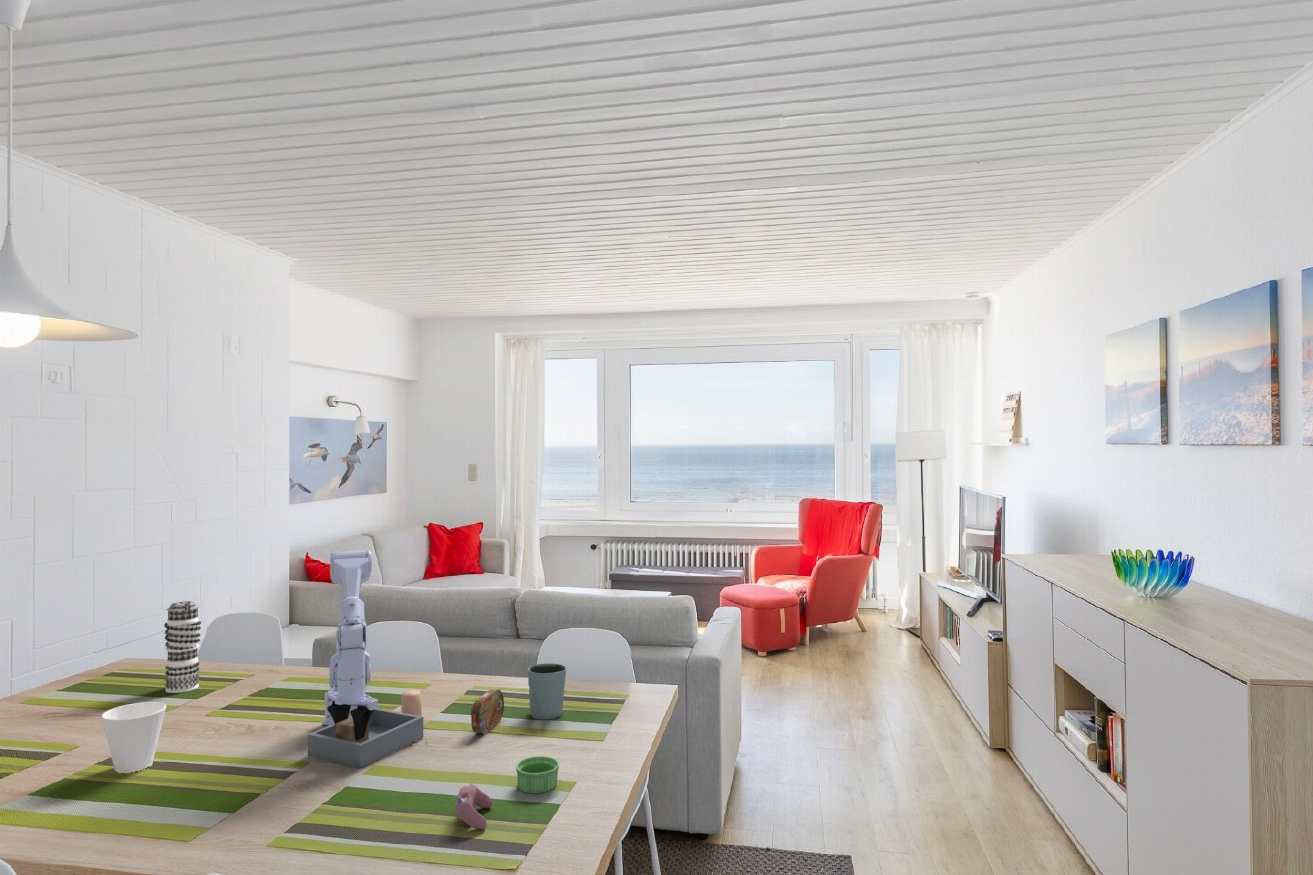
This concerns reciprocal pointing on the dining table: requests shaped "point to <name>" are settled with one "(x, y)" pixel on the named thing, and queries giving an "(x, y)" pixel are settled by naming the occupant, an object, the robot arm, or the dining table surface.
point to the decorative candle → (182, 647)
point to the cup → (133, 734)
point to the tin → (487, 711)
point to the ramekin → (537, 774)
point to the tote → (384, 739)
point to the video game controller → (472, 806)
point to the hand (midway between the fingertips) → (350, 736)
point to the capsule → (411, 702)
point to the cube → (349, 731)
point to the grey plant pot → (546, 690)
